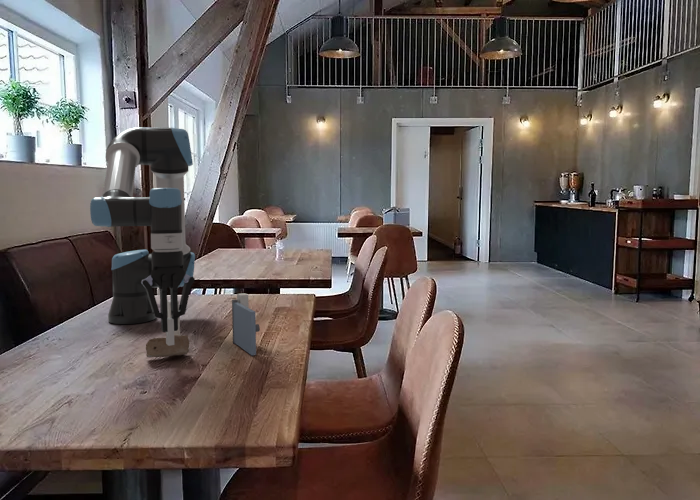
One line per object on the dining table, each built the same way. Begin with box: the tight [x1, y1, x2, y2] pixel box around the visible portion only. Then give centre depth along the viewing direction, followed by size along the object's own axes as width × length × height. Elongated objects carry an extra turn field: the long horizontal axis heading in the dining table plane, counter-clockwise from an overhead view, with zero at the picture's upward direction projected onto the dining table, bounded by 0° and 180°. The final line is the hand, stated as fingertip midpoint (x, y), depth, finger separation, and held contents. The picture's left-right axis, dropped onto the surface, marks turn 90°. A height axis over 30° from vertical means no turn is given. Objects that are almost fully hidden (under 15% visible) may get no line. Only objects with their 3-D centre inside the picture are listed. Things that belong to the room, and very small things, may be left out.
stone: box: [145, 334, 190, 358], centre depth 150 cm, size 9×11×5 cm
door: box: [231, 298, 261, 356], centre depth 158 cm, size 3×16×13 cm, turn 29°
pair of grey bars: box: [167, 292, 250, 335], centre depth 161 cm, size 3×22×14 cm, turn 120°
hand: (170, 344), depth 144 cm, fingers closed
